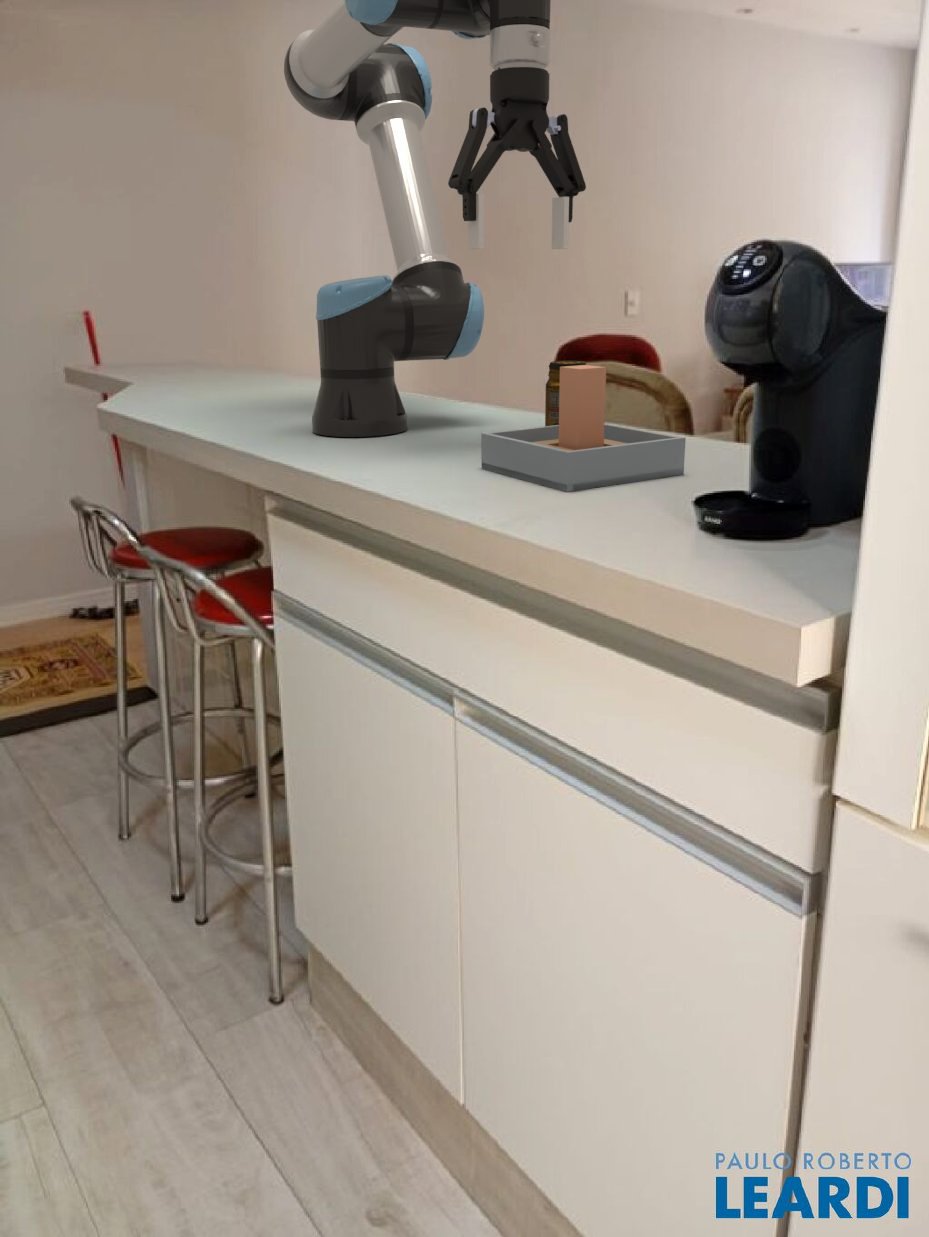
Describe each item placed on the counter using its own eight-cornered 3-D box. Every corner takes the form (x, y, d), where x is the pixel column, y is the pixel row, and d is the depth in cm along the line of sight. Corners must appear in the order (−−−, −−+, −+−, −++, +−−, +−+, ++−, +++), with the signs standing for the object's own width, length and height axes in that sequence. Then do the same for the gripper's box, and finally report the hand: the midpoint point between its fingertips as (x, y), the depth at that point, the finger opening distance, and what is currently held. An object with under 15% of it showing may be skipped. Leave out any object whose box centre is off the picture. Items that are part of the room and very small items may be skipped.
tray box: (481, 468, 129) (481, 433, 128) (591, 454, 138) (592, 421, 137) (567, 491, 115) (567, 452, 113) (683, 474, 124) (685, 437, 122)
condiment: (599, 448, 143) (602, 361, 139) (552, 454, 139) (554, 365, 135) (567, 441, 149) (569, 358, 145) (521, 447, 145) (521, 361, 141)
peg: (558, 464, 127) (559, 366, 123) (583, 461, 129) (585, 364, 125) (577, 469, 124) (580, 369, 120) (603, 465, 126) (606, 367, 122)
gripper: (450, 54, 118) (453, 247, 125) (615, 73, 130) (609, 248, 137) (419, 65, 124) (423, 249, 131) (579, 82, 136) (575, 249, 143)
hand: (518, 249), depth 134 cm, fingers open, 13 cm apart
